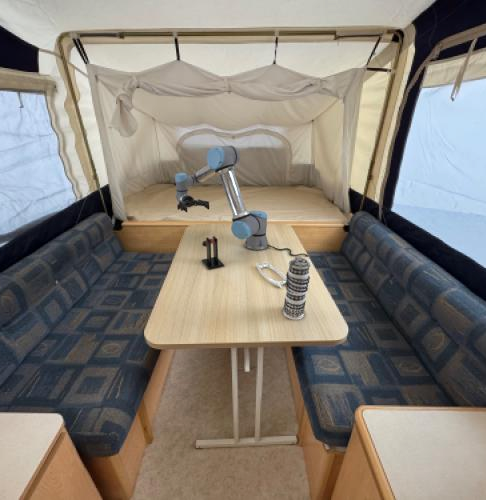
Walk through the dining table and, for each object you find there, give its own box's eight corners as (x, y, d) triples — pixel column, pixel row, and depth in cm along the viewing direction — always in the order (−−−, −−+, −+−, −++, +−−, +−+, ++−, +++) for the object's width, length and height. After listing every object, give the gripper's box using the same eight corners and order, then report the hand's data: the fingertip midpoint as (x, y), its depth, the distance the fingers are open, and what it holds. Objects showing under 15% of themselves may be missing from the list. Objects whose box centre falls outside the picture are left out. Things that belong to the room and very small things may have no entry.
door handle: (267, 263, 152) (293, 285, 131) (252, 267, 148) (276, 290, 127) (267, 259, 150) (293, 280, 130) (252, 263, 147) (276, 285, 126)
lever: (202, 247, 157) (200, 241, 157) (207, 246, 158) (206, 240, 158) (210, 244, 143) (208, 238, 143) (216, 243, 145) (215, 237, 145)
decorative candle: (278, 314, 111) (283, 261, 100) (287, 303, 118) (293, 253, 107) (299, 323, 106) (307, 268, 95) (307, 311, 113) (315, 258, 102)
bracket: (201, 261, 154) (200, 236, 147) (216, 258, 157) (215, 233, 151) (208, 269, 145) (207, 243, 138) (223, 266, 148) (223, 240, 142)
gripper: (205, 203, 180) (217, 212, 163) (168, 208, 170) (177, 217, 153) (204, 192, 177) (217, 200, 160) (167, 196, 167) (176, 204, 149)
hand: (197, 208), depth 156 cm, fingers open, 13 cm apart
